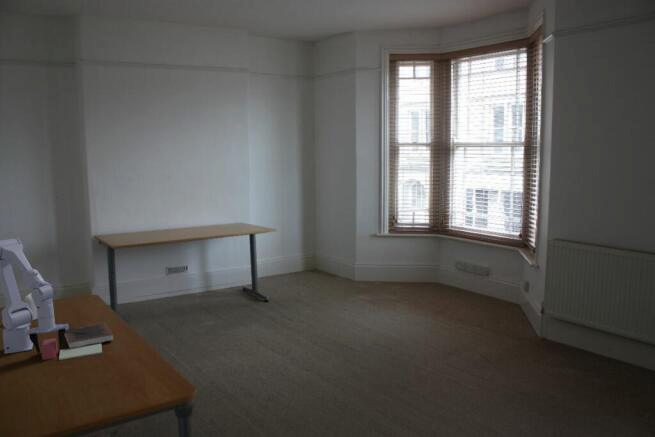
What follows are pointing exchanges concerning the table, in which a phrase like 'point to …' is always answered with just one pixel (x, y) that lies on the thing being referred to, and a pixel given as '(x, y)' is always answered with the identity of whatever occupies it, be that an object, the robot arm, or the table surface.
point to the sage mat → (80, 351)
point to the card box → (49, 349)
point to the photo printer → (31, 305)
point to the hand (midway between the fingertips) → (49, 350)
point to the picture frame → (88, 335)
